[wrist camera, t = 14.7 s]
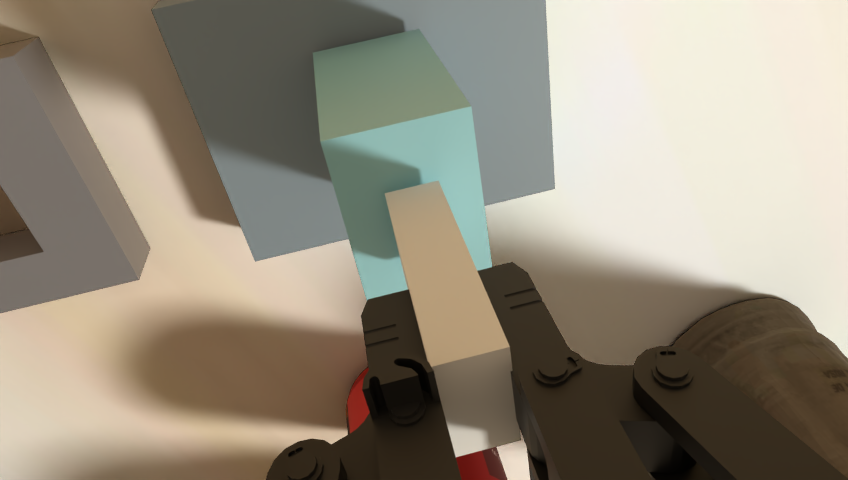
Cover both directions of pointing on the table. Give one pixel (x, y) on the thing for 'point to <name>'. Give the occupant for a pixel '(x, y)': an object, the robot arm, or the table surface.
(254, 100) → the port panel
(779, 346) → the beer stein
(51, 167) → the hollow square frame
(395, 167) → the plug
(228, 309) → the table surface
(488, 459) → the canned food
